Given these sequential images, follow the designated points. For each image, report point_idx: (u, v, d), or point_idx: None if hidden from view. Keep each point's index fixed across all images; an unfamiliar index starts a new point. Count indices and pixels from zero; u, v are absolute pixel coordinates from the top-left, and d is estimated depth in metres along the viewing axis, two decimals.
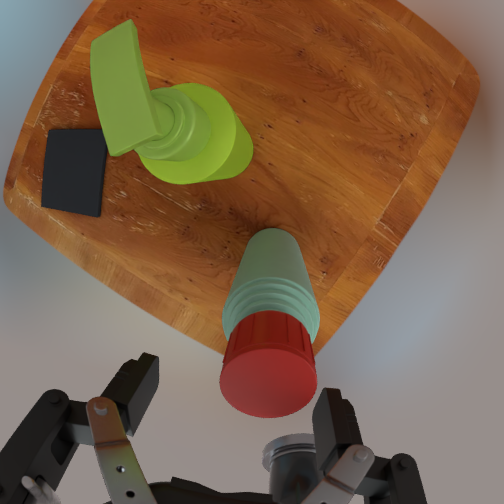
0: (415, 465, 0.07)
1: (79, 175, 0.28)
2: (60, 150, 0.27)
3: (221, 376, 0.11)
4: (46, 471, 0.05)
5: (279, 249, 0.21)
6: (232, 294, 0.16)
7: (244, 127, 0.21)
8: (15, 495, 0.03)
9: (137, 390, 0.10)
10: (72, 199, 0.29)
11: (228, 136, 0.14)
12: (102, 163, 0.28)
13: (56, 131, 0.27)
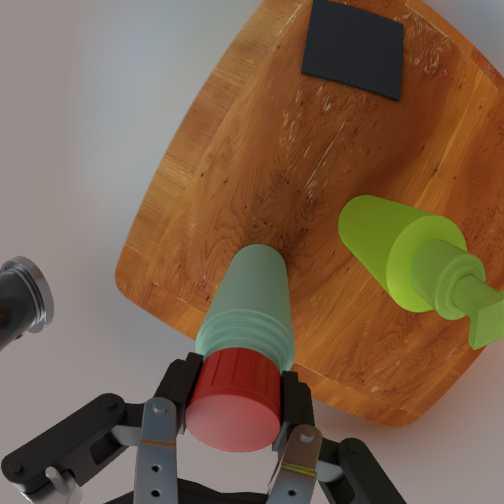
0: (365, 447, 0.08)
1: (351, 55, 0.22)
2: (380, 35, 0.21)
3: (242, 397, 0.10)
4: (78, 467, 0.06)
5: None
6: (276, 321, 0.15)
7: None
8: (34, 480, 0.04)
9: (191, 388, 0.11)
10: (322, 40, 0.22)
11: (417, 307, 0.15)
12: (363, 87, 0.23)
13: (401, 34, 0.20)
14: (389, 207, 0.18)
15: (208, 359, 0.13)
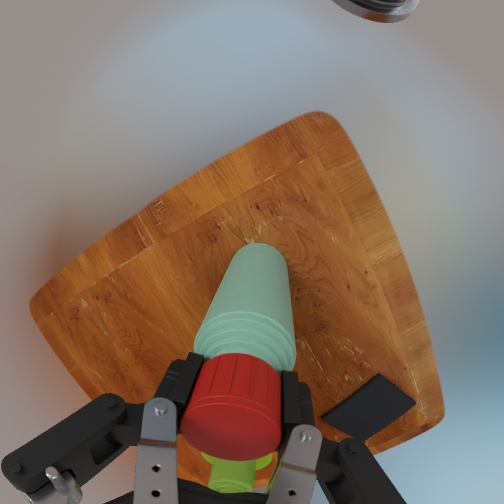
0: (365, 447, 0.08)
1: (367, 406, 0.32)
2: (366, 426, 0.33)
3: (240, 407, 0.09)
4: (78, 467, 0.06)
5: None
6: None
7: None
8: (34, 479, 0.04)
9: (191, 388, 0.11)
10: (388, 396, 0.31)
11: None
12: (343, 404, 0.32)
13: (358, 437, 0.34)
14: None
15: (206, 365, 0.12)
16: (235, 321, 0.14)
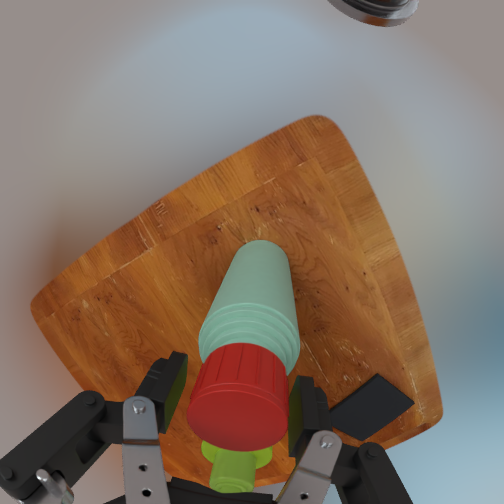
0: (384, 452, 0.08)
1: (365, 406, 0.32)
2: (365, 426, 0.33)
3: (248, 393, 0.09)
4: (66, 467, 0.06)
5: None
6: None
7: None
8: (26, 484, 0.04)
9: (171, 388, 0.10)
10: (386, 396, 0.32)
11: None
12: (342, 404, 0.32)
13: (357, 437, 0.34)
14: None
15: (211, 355, 0.12)
16: (240, 312, 0.14)
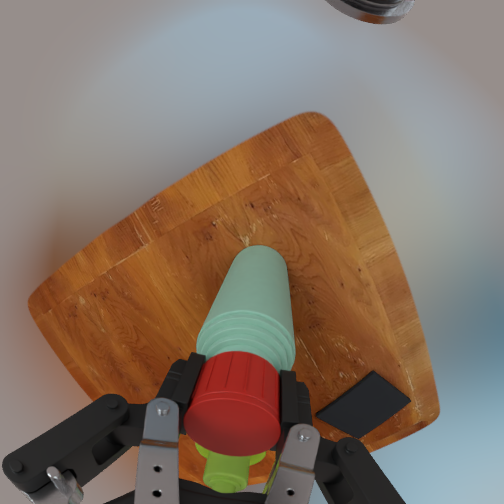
0: (363, 446, 0.08)
1: (361, 404, 0.32)
2: (361, 424, 0.34)
3: (187, 433, 0.10)
4: (79, 467, 0.06)
5: None
6: None
7: None
8: (35, 479, 0.04)
9: (193, 388, 0.11)
10: (382, 393, 0.32)
11: None
12: (337, 401, 0.32)
13: (353, 435, 0.34)
14: None
15: None
16: (232, 320, 0.14)
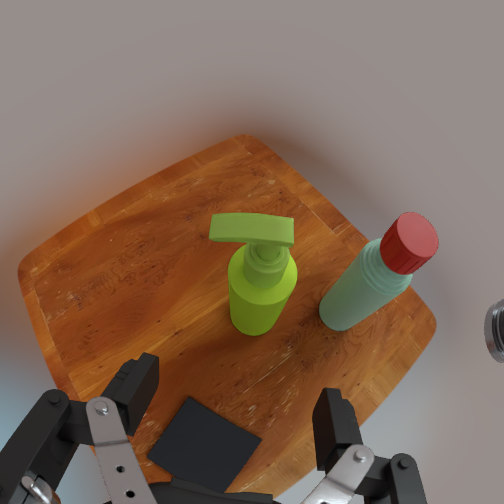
0: (415, 465, 0.07)
1: (213, 443, 0.28)
2: (176, 453, 0.27)
3: (404, 213, 0.20)
4: (46, 471, 0.05)
5: (340, 279, 0.30)
6: (368, 283, 0.23)
7: None
8: (15, 495, 0.03)
9: (137, 390, 0.10)
10: (231, 460, 0.27)
11: None
12: (216, 414, 0.29)
13: (154, 449, 0.26)
14: (260, 319, 0.27)
15: (381, 247, 0.22)
16: None
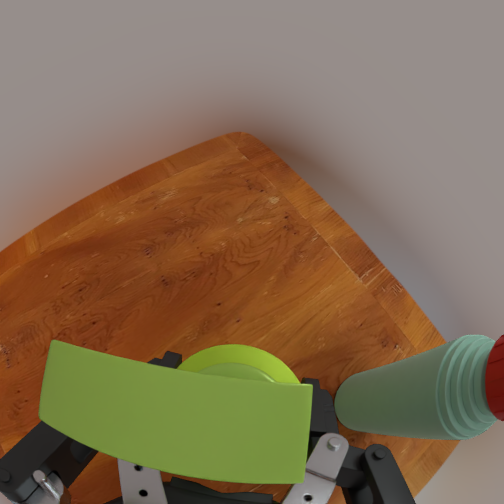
0: (390, 455, 0.08)
1: None
2: None
3: None
4: (62, 468, 0.06)
5: (381, 384, 0.15)
6: (444, 427, 0.09)
7: None
8: (24, 486, 0.04)
9: None
10: None
11: (268, 361, 0.11)
12: None
13: None
14: None
15: (491, 377, 0.07)
16: None
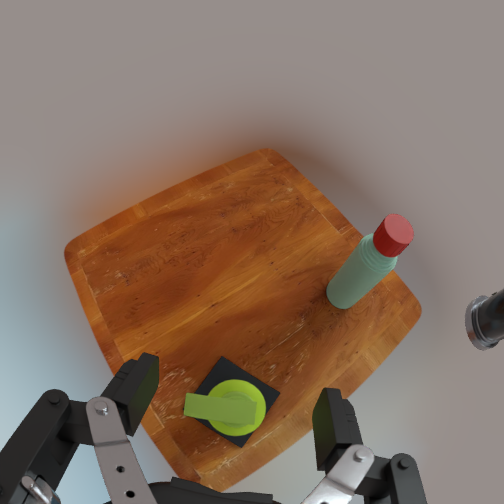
0: (415, 465, 0.07)
1: None
2: None
3: (390, 214, 0.30)
4: (46, 471, 0.05)
5: (344, 264, 0.40)
6: (365, 263, 0.33)
7: None
8: (15, 495, 0.03)
9: (137, 390, 0.10)
10: None
11: (249, 386, 0.26)
12: None
13: None
14: None
15: (374, 237, 0.32)
16: None
